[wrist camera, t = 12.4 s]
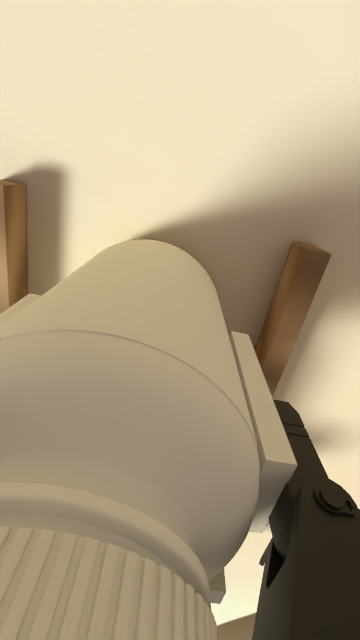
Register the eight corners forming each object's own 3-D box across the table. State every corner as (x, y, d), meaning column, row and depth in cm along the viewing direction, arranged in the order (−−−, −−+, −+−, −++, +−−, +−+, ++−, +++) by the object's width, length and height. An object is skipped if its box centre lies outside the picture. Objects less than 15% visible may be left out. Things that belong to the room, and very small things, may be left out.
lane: (1, 179, 15) (-178, 177, 8) (315, 246, 16) (421, 300, 9) (18, 506, 26) (-50, 633, 18) (203, 534, 27) (208, 666, 19)
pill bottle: (244, 269, 16) (564, 784, 2) (185, 382, 19) (176, 878, 5) (101, 208, 15) (-874, 501, 1) (64, 339, 18) (-321, 821, 4)
